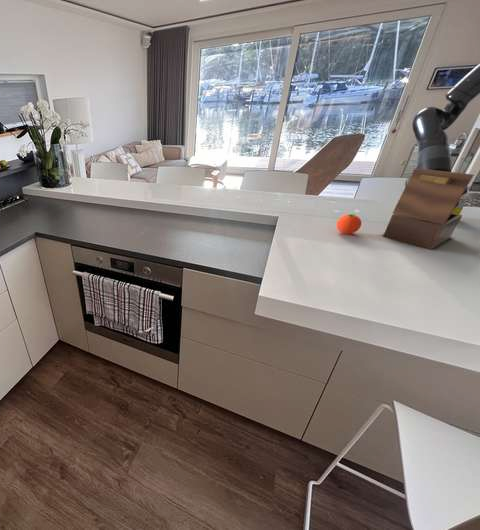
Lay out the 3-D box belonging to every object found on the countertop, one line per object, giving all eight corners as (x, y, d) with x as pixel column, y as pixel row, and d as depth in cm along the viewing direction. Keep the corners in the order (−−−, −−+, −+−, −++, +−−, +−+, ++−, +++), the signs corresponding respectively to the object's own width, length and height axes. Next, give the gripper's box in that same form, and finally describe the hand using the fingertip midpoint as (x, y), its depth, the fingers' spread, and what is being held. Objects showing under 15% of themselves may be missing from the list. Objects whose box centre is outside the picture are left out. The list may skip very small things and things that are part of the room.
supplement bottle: (429, 214, 111) (445, 181, 104) (453, 217, 107) (472, 182, 101) (432, 220, 106) (449, 186, 100) (457, 223, 102) (477, 187, 96)
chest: (402, 226, 104) (411, 205, 100) (450, 237, 94) (462, 215, 90) (383, 235, 99) (392, 214, 95) (431, 249, 89) (443, 226, 85)
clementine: (334, 226, 108) (340, 208, 104) (357, 230, 104) (364, 211, 101) (333, 235, 102) (339, 216, 99) (357, 238, 99) (364, 219, 95)
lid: (415, 168, 89) (409, 167, 87) (474, 174, 79) (468, 174, 77) (393, 213, 95) (386, 214, 93) (444, 224, 85) (439, 225, 83)
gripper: (413, 156, 94) (414, 201, 91) (471, 155, 89) (475, 202, 86) (399, 169, 101) (400, 211, 98) (453, 169, 96) (456, 213, 93)
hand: (435, 207), depth 92 cm, fingers open, 8 cm apart
